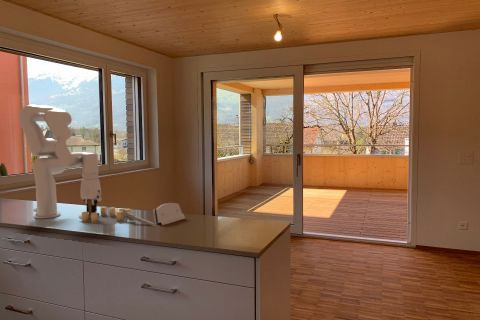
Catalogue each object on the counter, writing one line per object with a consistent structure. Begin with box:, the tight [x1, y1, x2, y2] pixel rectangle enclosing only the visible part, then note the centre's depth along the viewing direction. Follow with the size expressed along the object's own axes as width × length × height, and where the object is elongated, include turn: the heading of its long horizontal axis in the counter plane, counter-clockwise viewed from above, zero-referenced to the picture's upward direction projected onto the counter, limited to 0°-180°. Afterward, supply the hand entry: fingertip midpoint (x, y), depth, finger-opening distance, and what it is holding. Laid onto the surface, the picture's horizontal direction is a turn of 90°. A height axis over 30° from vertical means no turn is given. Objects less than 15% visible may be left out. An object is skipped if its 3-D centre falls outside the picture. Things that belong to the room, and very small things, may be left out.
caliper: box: [122, 210, 157, 227], centre depth 176 cm, size 20×1×6 cm, turn 67°
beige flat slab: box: [152, 202, 186, 226], centre depth 182 cm, size 17×5×10 cm, turn 146°
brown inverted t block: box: [88, 199, 100, 219], centre depth 187 cm, size 3×7×9 cm, turn 159°
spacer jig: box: [79, 206, 132, 226], centre depth 183 cm, size 20×18×5 cm
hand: (91, 211), depth 187 cm, fingers closed on brown inverted t block, 2 cm apart
